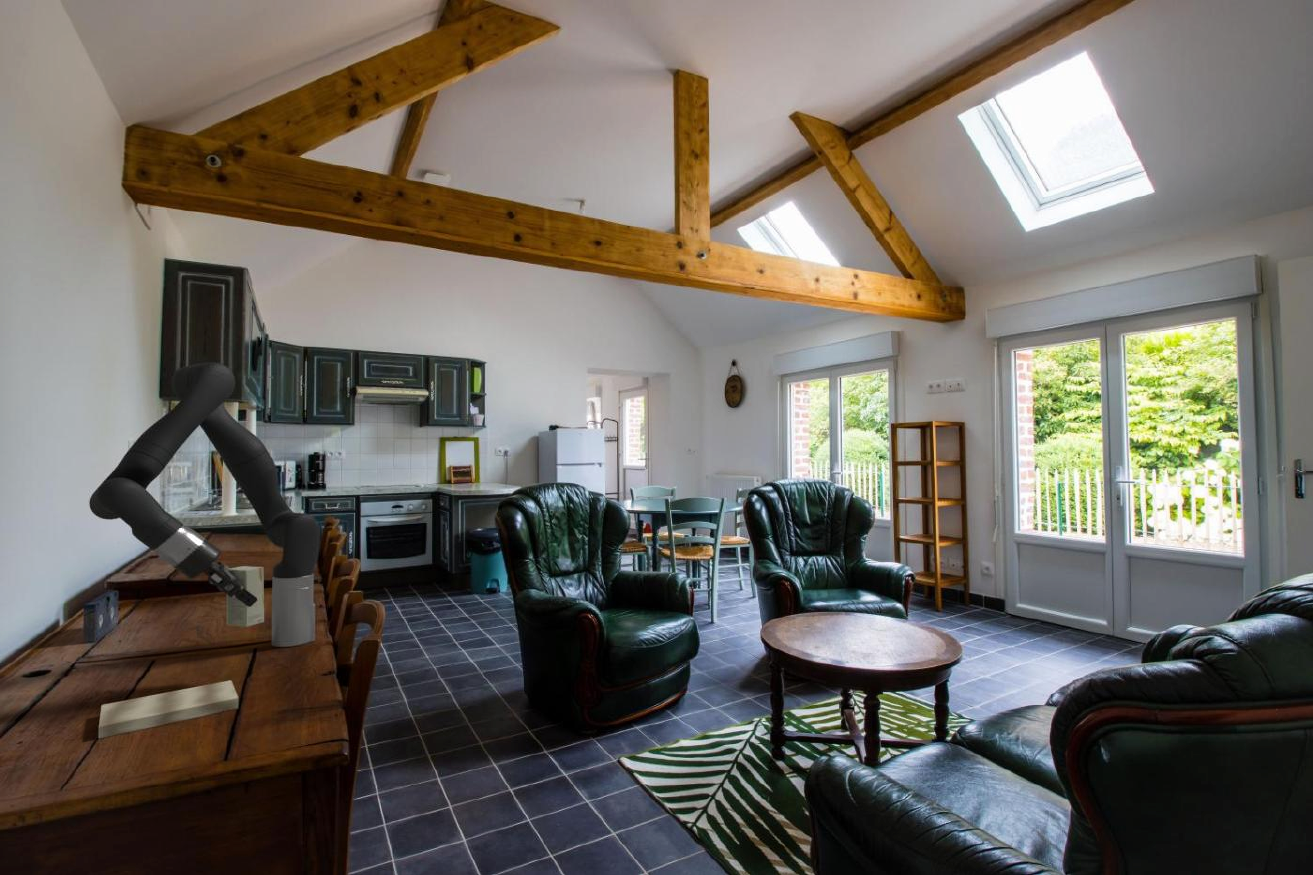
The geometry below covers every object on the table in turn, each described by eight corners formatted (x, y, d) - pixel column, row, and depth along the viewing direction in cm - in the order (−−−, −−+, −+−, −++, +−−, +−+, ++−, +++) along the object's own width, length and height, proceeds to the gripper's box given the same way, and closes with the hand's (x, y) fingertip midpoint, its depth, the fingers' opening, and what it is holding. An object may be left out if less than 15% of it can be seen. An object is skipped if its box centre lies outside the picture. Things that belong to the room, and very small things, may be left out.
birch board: (230, 689, 129) (231, 680, 129) (238, 708, 120) (238, 697, 120) (101, 715, 116) (101, 704, 116) (98, 738, 107) (98, 726, 107)
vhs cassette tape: (107, 626, 176) (107, 590, 176) (120, 625, 177) (121, 589, 178) (79, 644, 159) (80, 605, 160) (95, 643, 161) (95, 604, 161)
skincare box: (265, 622, 138) (265, 566, 138) (246, 627, 134) (247, 570, 134) (243, 619, 140) (244, 564, 140) (224, 625, 136) (225, 568, 136)
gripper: (203, 542, 127) (269, 592, 133) (204, 534, 139) (265, 580, 145) (169, 571, 124) (239, 621, 130) (174, 560, 135) (238, 606, 142)
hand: (253, 599), depth 138 cm, fingers closed on skincare box, 7 cm apart
